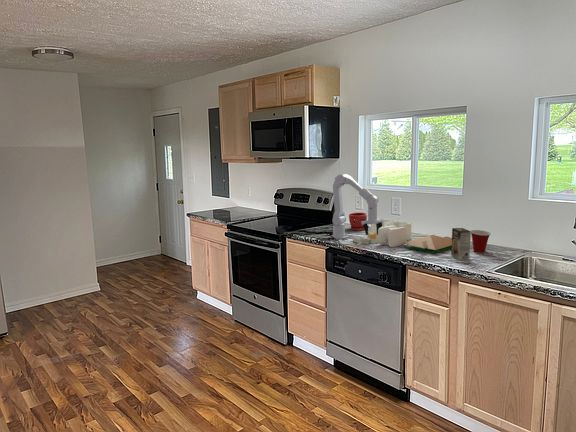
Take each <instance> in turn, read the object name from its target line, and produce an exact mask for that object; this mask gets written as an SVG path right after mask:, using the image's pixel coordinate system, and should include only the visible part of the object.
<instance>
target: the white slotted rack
mask: <svg viewBox="0 0 576 432" xmlns="http://www.w3.org/2000/svg"><path fill="white" fill-rule="evenodd" d="M377 220H383V223H382V227H386V226H392V225H393V226H396V227H397V228H400V227H405V228H406V230H407V231H406V241H410V240H412V223H411V222H406V221H399V220H397V221H395V220H394V219H385V218H377ZM370 233H375V234H377V227H376V224H370ZM377 236H378V234H377Z"/></svg>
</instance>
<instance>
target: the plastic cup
mask: <svg viewBox="0 0 576 432" xmlns="http://www.w3.org/2000/svg"><path fill="white" fill-rule="evenodd" d="M470 231H471V240H472V247H473V252H474V253H476V252H478V253H477V254H482V253H486V249H487V245H488V241H489V238H490V235H491V232H489V231H486V230H480V229H472V230H470Z"/></svg>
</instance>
